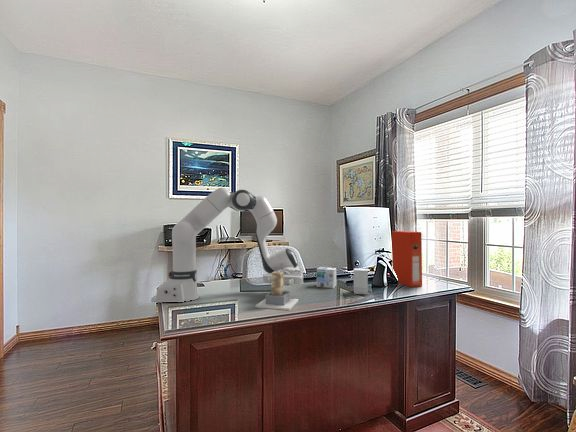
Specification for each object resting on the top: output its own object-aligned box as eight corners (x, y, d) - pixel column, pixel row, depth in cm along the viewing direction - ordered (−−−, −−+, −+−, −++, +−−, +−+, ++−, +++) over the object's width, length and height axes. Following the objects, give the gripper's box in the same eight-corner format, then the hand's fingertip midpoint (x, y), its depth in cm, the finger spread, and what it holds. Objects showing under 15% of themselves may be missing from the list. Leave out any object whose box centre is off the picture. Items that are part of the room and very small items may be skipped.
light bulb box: (316, 286, 180) (316, 268, 180) (319, 284, 186) (319, 266, 186) (334, 288, 176) (333, 269, 176) (336, 285, 182) (336, 267, 182)
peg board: (255, 307, 138) (255, 296, 138) (267, 298, 154) (267, 288, 154) (289, 310, 134) (289, 299, 134) (298, 300, 149) (298, 290, 150)
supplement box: (368, 294, 161) (368, 270, 161) (353, 293, 163) (353, 270, 163) (367, 291, 169) (367, 268, 169) (353, 290, 170) (353, 267, 170)
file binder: (410, 287, 178) (410, 232, 178) (392, 281, 194) (391, 231, 194) (422, 286, 180) (421, 232, 180) (402, 280, 196) (402, 231, 197)
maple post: (271, 303, 142) (271, 273, 143) (274, 300, 147) (274, 271, 147) (280, 303, 141) (280, 273, 141) (283, 301, 146) (283, 271, 146)
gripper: (267, 269, 161) (258, 274, 148) (305, 271, 156) (299, 276, 142) (267, 281, 161) (258, 287, 148) (305, 283, 156) (299, 289, 142)
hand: (278, 281), depth 145 cm, fingers open, 8 cm apart
